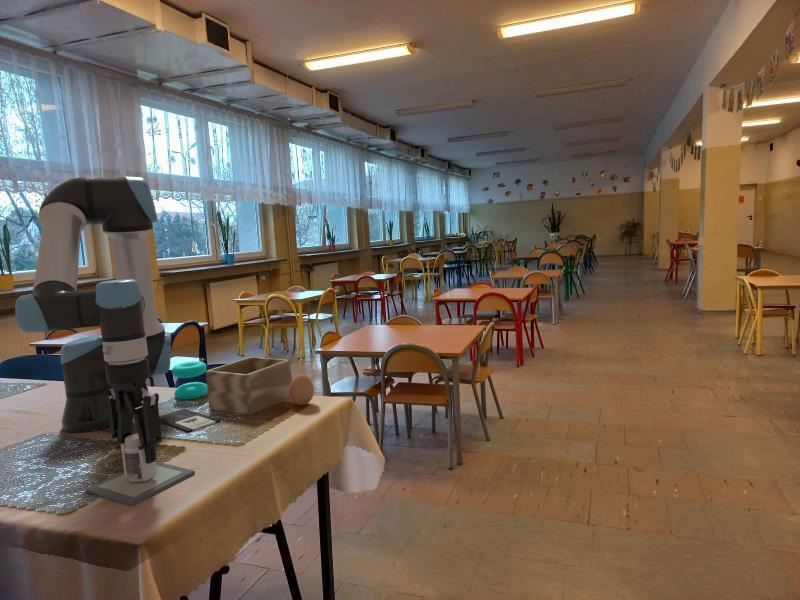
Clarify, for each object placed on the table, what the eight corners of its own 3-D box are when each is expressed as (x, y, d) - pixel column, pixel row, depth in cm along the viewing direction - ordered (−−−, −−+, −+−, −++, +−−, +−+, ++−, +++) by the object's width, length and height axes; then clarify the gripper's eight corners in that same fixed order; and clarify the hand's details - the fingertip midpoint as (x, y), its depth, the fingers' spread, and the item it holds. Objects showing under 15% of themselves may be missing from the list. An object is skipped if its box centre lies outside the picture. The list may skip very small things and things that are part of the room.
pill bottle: (143, 483, 102) (138, 441, 101) (122, 482, 103) (116, 440, 102) (159, 472, 107) (154, 432, 106) (138, 471, 108) (133, 431, 107)
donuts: (164, 368, 160) (184, 360, 169) (167, 400, 161) (188, 390, 171) (193, 368, 157) (212, 360, 167) (197, 401, 159) (215, 391, 168)
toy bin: (209, 409, 150) (205, 371, 149) (254, 391, 165) (250, 356, 164) (250, 415, 142) (246, 375, 141) (293, 396, 158) (290, 359, 156)
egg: (303, 410, 144) (300, 378, 143) (285, 407, 148) (282, 376, 147) (319, 403, 150) (317, 372, 149) (301, 400, 153) (299, 370, 152)
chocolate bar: (184, 408, 150) (219, 419, 139) (185, 411, 150) (220, 423, 139) (153, 417, 143) (187, 430, 132) (153, 421, 144) (187, 434, 132)
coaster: (85, 491, 103) (85, 488, 103) (149, 462, 115) (149, 459, 115) (131, 505, 96) (131, 502, 96) (194, 473, 108) (194, 470, 108)
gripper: (79, 361, 103) (95, 475, 106) (138, 368, 95) (153, 492, 98) (116, 353, 110) (129, 460, 113) (174, 358, 101) (187, 474, 104)
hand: (140, 475), depth 105 cm, fingers open, 5 cm apart
